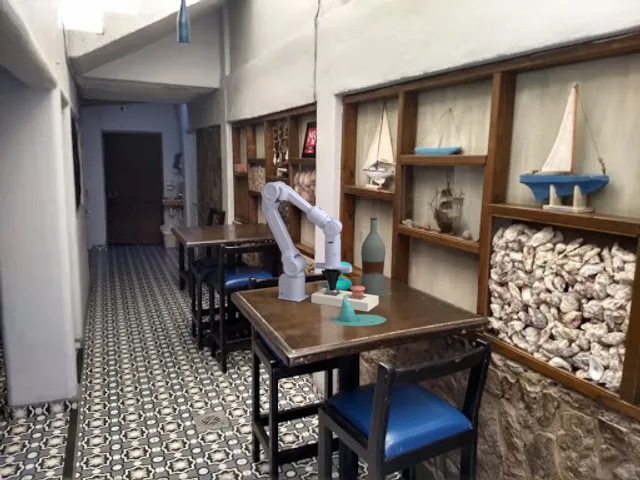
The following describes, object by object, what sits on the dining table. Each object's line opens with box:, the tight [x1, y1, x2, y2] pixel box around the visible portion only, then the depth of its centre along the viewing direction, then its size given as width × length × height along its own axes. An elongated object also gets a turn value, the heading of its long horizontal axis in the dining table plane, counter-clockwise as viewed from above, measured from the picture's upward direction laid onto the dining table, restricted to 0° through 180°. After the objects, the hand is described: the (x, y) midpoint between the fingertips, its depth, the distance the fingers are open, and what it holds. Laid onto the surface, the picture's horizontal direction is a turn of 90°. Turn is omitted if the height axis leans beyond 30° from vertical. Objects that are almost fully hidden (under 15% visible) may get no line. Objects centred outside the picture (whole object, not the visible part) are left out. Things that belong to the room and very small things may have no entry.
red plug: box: [349, 285, 365, 298], centre depth 171 cm, size 5×5×3 cm
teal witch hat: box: [331, 295, 387, 327], centre depth 156 cm, size 12×20×9 cm, turn 94°
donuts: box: [326, 261, 353, 291], centre depth 194 cm, size 10×10×10 cm
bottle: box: [360, 216, 386, 299], centre depth 181 cm, size 9×9×30 cm
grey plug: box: [325, 287, 340, 296], centre depth 176 cm, size 5×5×3 cm
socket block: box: [310, 287, 380, 313], centre depth 174 cm, size 22×10×3 cm, turn 62°
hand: (332, 289), depth 175 cm, fingers closed, pressing on grey plug
